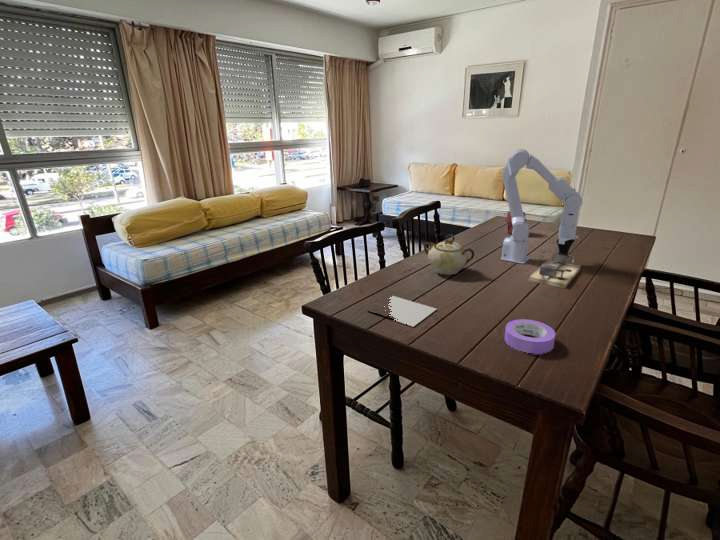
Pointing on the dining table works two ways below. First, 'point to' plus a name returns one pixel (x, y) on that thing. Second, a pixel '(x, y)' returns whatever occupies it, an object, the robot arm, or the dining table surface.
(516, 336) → the masking tape
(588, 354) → the dining table surface
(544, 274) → the hole board
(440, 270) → the cream teapot
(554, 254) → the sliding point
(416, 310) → the paper stack
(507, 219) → the mechanical component
